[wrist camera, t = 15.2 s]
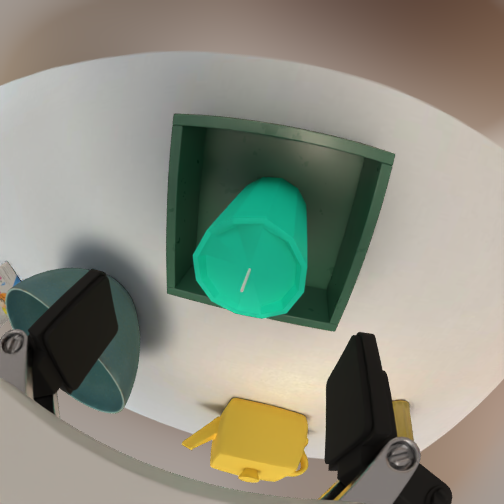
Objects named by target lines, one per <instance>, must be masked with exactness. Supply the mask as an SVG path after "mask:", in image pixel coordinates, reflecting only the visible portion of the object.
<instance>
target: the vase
mask: <svg viewBox="0 0 504 504" xmlns="http://www.w3.org/2000/svg"><path fill="white" fill-rule="evenodd" d="M392 403H393V409H394V416H395V422H396V429H397V437H407V438H409V439H411V440H413V441H414V439H413V431H412V424H411V418H410V406H409V403H408V402H406V401H402V400H398V401H392Z"/></svg>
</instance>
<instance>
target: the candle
mask: <svg viewBox="0 0 504 504" xmlns="http://www.w3.org/2000/svg"><path fill="white" fill-rule="evenodd" d="M193 263H194V270H195V277H196V281H197V282H198V284H199V285H200V286H201V288H202V289H203V290H204V292H205V293H206V295H207V296H208V297H209V299H210V300H211V301H212V302H214V303H216V304H218V305H220V306H221V307H223V308H225V309H227V310H229V311H231V312H233V313H235V314H240V315H245V316H251V317H256V318H261V319H262V318H267V317H272V316H277V315H281V314H286V313H287V312H288V311H289V310H290V309H291V307H292V306H293V305H294V304H295V303H296V301H297V300H298V299H299V298H300V297H301V295H302V294H303V293H304V289H305V281H306V273H307V210H306V203H305V201H304V199H303V197H302V195H301V193H300V191H299V189H298V188H297V187H295V186H294V185H292V184H290V183H289V182H287V181H286V180H284V179H283V178H272V177H262V178H260V179H258V180H256V181H254V182H252V183H250V184H248V185H247V186H246V187H245V188H244V189H243V190H242V191H241V192H240V193H239V194H238V196H237V197H236V198H235V199H234V200H233V201H232V202H231V203H230V204H229V205H228V207H227V208H226V209H225V210H224V211H223V212H222V213H221V214H220V216H219V217H218V218H217V219H216V220H215V221H214V222H213V223H212V225H211V226H210V227H209V228H208V229H207V231H206V232H205V234H204V236H203V238H202V239H201V241H200V243H199V245H198V247H197V248H196V250H195V252H194V254H193Z"/></svg>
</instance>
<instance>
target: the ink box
mask: <svg viewBox="0 0 504 504" xmlns="http://www.w3.org/2000/svg"><path fill="white" fill-rule="evenodd" d="M20 282H21V281H20V279H19V278H18V276H17V275H16V274H15V272H14V271H13V269H12V268H11V266H10V264H9V263H8V261H7V262H5V263H4V264H2V265H1V266H0V327H1V326H2V325H3V324H4V323H5V322H6V321H8V320H9V318H8V315H7V311H6V305H5V297H6V293H7V291H8V290H9V289H11V288H12V287H13V286H15V285H16V284H18V283H20Z"/></svg>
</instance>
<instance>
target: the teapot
mask: <svg viewBox="0 0 504 504" xmlns="http://www.w3.org/2000/svg"><path fill="white" fill-rule="evenodd" d="M307 433H308V424H307V420H306V417H305V416H304V415H302V414H299V413H295V412H292V411H289V410H285V409H282V408H278V407H274V406H271V405H266V404H262V403H258V402H253V401H249V400H244V399H239V398H233V399H231V401H230V402H229V403H228V405H227V406H226V408H225V409H224V411H223V413H222V414H221V416H220V417H217V418H216V419H214V420H213V421H211V422H210V423H209V424H207V425H206V426H204V427H203V428H202V429H200V430H199V431H197V432H196V433H194V434H193V435H192V436H190V437H189V438H187V439H186V440H184V441H183V442H182V445H183V446H185V447H187V448H189V449H190V450H192V449H193V448H195V447H198V446H199V445H202V444H204V443H206V442H208V441H210V440H213V441H212V447H211V459H210V466H211V467H212V468H215V469H218V470H221V471H224V472H228V473H231V474H235V475H239V477H238V478H239V479H240V480H243V481H246V482H259V480H265V481H277V480H280V479H282V478H284V477H286V476H291V477H292V476H293V477H294V476H298V475H301V474H302V473H304V472H305V471H306V470H307V468H308V459H307V456H306V454H305V452H304V448H305V447H306V446H307V444H308V438H307ZM299 463H301V468H300V470H298V471H295V470H296V469H297V468H298V465H299Z"/></svg>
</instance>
